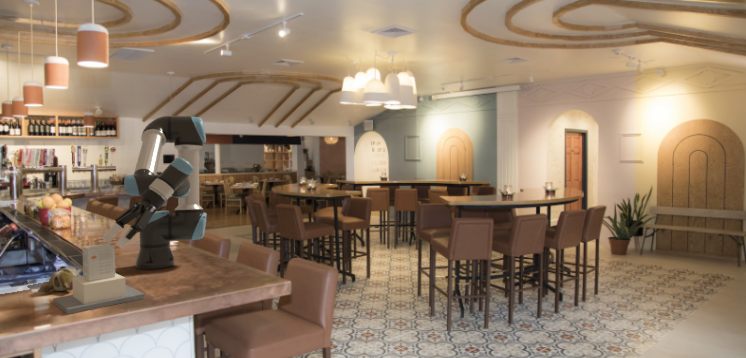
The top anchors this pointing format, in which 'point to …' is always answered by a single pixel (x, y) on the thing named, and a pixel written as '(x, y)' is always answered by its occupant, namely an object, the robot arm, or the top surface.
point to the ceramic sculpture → (60, 280)
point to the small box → (98, 262)
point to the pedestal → (97, 294)
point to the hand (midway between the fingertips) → (111, 243)
